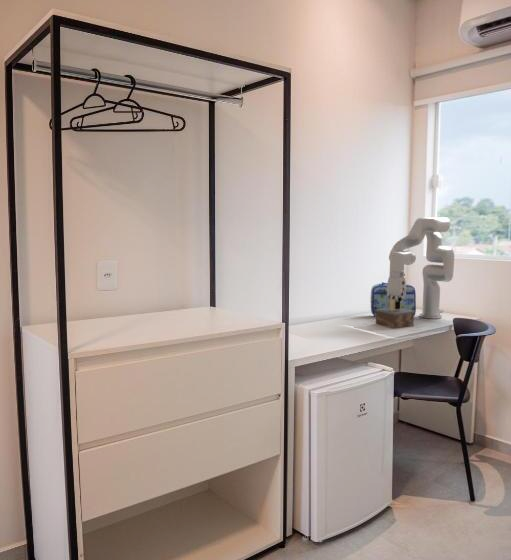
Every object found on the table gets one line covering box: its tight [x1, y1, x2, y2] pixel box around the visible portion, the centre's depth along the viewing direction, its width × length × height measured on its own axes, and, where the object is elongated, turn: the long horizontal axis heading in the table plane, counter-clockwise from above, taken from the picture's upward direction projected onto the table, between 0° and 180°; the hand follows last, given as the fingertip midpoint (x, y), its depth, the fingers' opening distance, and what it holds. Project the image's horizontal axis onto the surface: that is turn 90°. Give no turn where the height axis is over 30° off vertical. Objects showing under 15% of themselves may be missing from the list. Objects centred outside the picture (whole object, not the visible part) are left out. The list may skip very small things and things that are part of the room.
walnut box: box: [375, 312, 415, 329], centre depth 287 cm, size 14×14×8 cm
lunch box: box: [370, 281, 417, 318], centre depth 313 cm, size 26×11×21 cm, turn 84°
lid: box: [375, 299, 417, 315], centre depth 286 cm, size 15×15×7 cm
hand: (395, 308), depth 286 cm, fingers closed on lid, 2 cm apart
